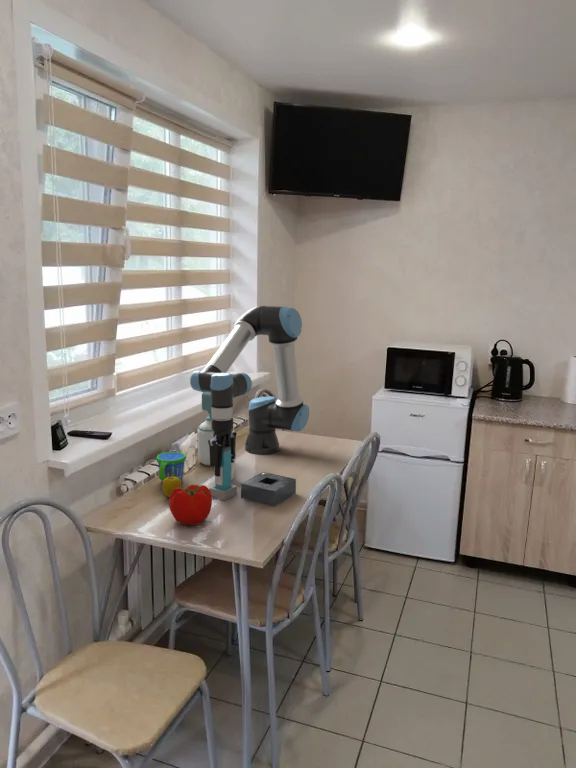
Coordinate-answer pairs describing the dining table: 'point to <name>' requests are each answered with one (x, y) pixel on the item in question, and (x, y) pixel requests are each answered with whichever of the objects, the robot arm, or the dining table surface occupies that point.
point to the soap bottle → (205, 431)
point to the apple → (170, 485)
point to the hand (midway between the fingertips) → (223, 482)
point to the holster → (223, 492)
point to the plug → (225, 469)
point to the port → (268, 488)
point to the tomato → (190, 504)
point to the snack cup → (171, 465)
